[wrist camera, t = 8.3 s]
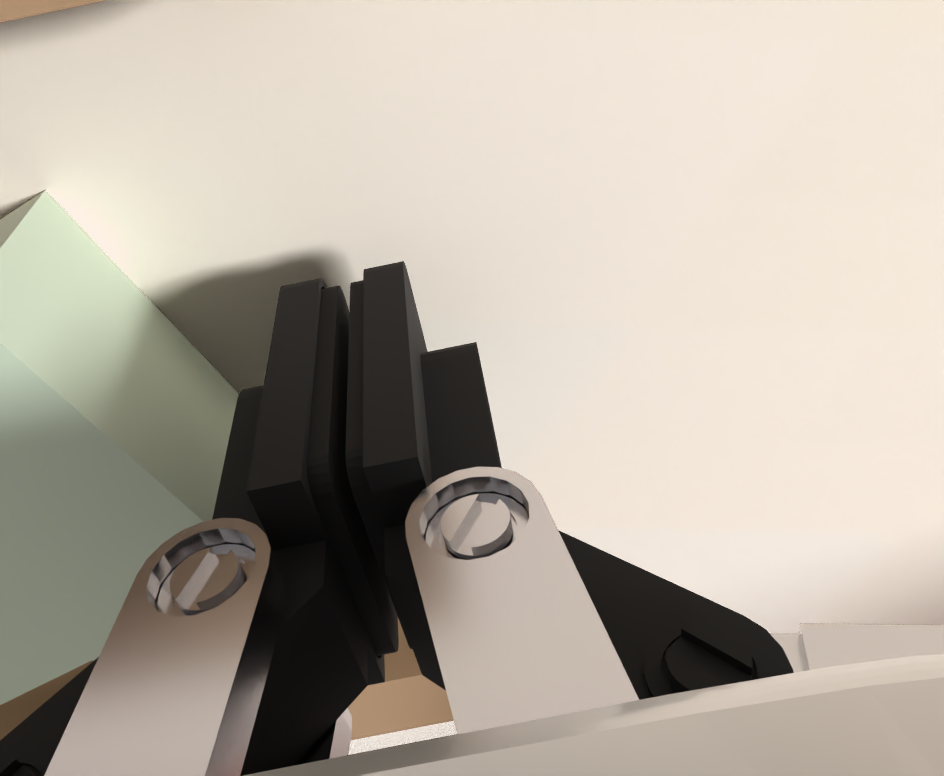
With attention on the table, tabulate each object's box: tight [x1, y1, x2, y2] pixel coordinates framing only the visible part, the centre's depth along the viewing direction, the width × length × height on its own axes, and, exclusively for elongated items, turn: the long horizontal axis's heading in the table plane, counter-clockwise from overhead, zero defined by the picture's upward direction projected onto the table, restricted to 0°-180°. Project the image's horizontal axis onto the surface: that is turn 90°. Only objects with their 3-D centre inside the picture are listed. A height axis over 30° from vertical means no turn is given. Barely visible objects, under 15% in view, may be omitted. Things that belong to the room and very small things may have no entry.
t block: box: [0, 190, 239, 705], centre depth 12 cm, size 7×7×3 cm
